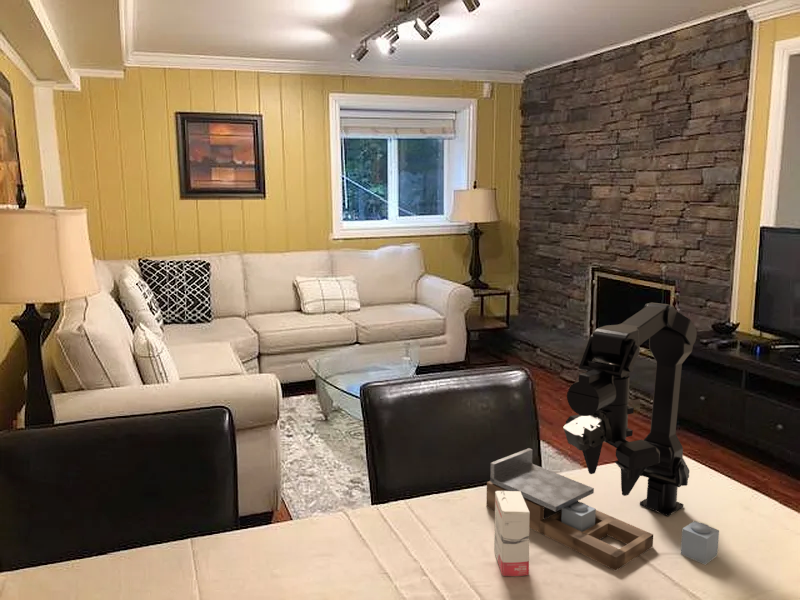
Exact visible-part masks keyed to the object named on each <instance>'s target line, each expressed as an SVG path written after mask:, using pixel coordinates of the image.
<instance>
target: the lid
mask: <svg viewBox="0 0 800 600" xmlns="http://www.w3.org/2000/svg"><path fill="white" fill-rule="evenodd" d="M489 481H490V482H491V483H494V484H496V485H498V486H500V487H502V488H505V489H507V490H509V491H521V494H522V496H523V497H524V498H527V499H529V500H531V501H533V502H535V503H537V504H540V505H542V506H544V508H546V509H549V510H551V511H553V512H555V513H557V512H559V511H561V509H562V508H564V507H566V506H568V505H570V504H573V503H575V502H577V501H579V502H580V500H583V499H584V498H586V497H588V496H590V495H592V494H593V495H594V493H595V492H594V491H595V488H594V487H591V486H589V485H587V484H584V483H582V482H579V481H576V480H575V479H571V478H569V477H567V476H565V475H561V474H559V473H556V472H555V471H552V470H549V469H547V468H544V467H542V466H539V465H537V464H534V463H533V449H532V448H530V447H528V448H526V449H523V450H520V451H518V452H515V453H513V454H510V455H507V456H505V457H502V458H500V459H497V460H494V461H492V462H490V480H489Z"/></svg>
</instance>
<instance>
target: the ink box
mask: <svg viewBox="0 0 800 600" xmlns="http://www.w3.org/2000/svg"><path fill="white" fill-rule="evenodd" d="M529 519H530V512H529V510H528V507H527V505H526V503H525V501H524V498H523V496H522V494H521V491H496V492H495V510H494V536H493V537H494V538H493V540H494V543H493V545H494V546H493V550H494V554H495V557H496V559H497V563H498V566H499V569H500V572H501V575H502V576H503V577H522V576H523V577H524V576H529V575H530V528H529Z"/></svg>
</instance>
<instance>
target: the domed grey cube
mask: <svg viewBox="0 0 800 600" xmlns="http://www.w3.org/2000/svg"><path fill="white" fill-rule="evenodd" d="M681 529H682V530H681V541H680V542H681V544H680V555H682V556H683V557H687V558H689V559H691V560H693V561H696V562H698V563H700V564H702V565H704V566H705V565H707V564H709V562H711V561H712V560H713V559H716V557H717V556H718V551H719V538H720V530H719V529H717V528H714V527H712V526H709V525H708V524H706V523H703V522H699V521H696V520H694V521H692V522H690V523H689V524H687V525H686V526H683V528H681Z"/></svg>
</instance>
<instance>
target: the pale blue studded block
mask: <svg viewBox="0 0 800 600" xmlns="http://www.w3.org/2000/svg"><path fill="white" fill-rule="evenodd" d="M596 510H597V509H596V508H594V507H592V506H590V505H588V504H586V503H584V502H581V501H580V500H579V501H577V502H575V503H573V504H570V505H568V506H566V507H564V508H562V518H561V522H562V523H564V524H566V525H569V526H571V527H573V528H575V529H577V530H579V531H581V532H583V531H585V530H587V529H589V528H591V527H592V526H594V525H595V514H596Z"/></svg>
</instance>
